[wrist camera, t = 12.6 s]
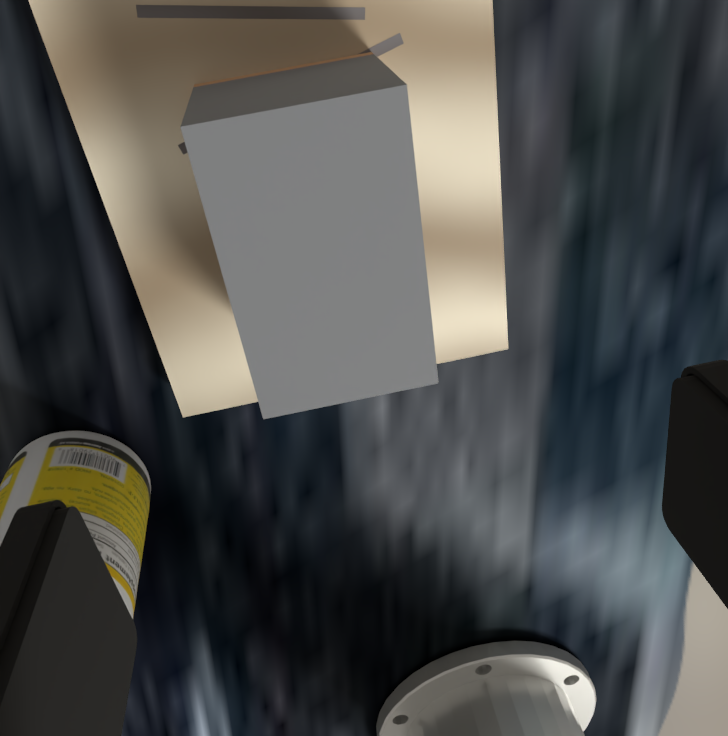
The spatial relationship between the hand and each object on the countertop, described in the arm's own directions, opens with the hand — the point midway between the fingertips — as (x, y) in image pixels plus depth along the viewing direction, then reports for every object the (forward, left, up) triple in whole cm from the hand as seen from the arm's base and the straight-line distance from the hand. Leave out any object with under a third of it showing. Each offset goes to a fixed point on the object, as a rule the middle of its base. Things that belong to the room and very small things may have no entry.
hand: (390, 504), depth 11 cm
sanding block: (0, 0, -13) cm, 13 cm away
